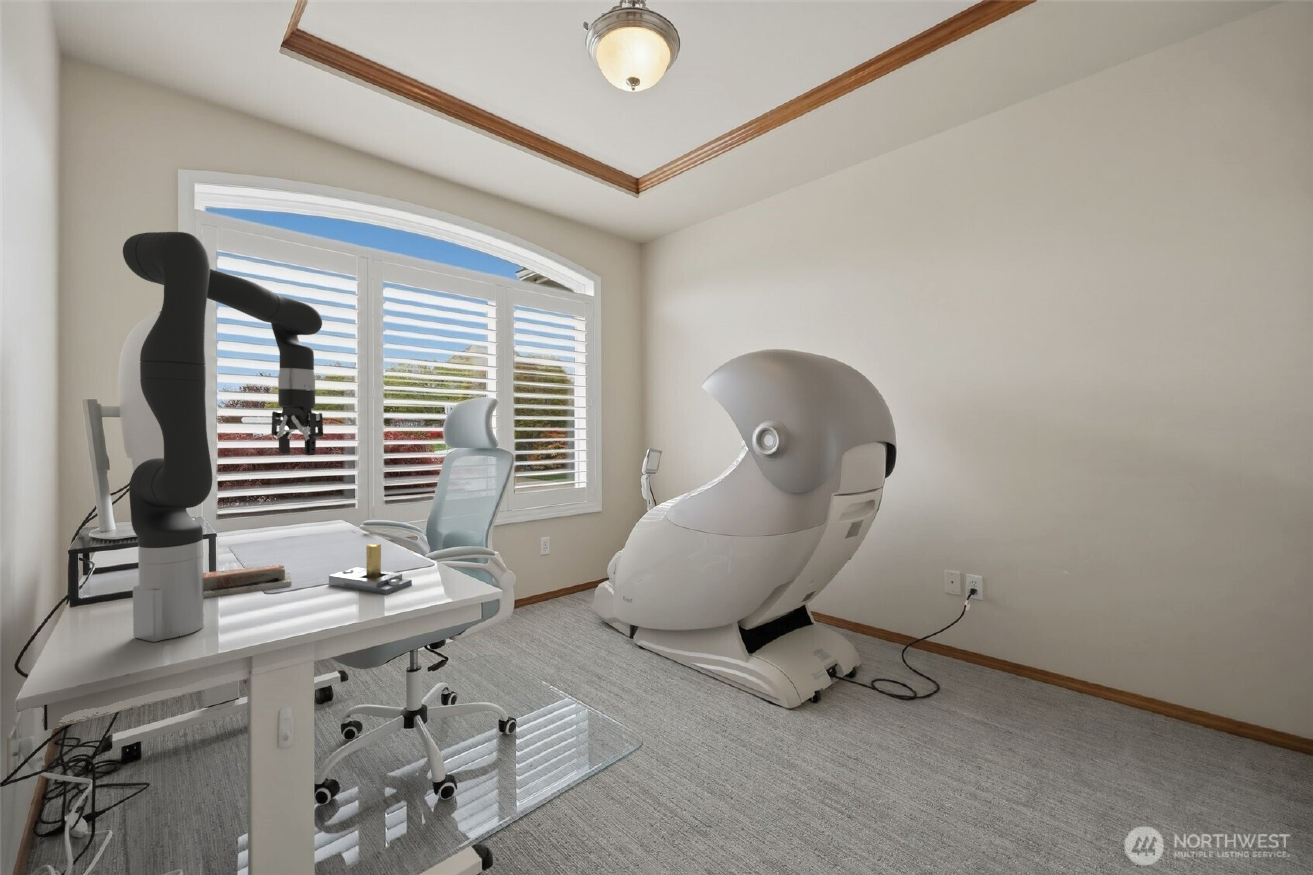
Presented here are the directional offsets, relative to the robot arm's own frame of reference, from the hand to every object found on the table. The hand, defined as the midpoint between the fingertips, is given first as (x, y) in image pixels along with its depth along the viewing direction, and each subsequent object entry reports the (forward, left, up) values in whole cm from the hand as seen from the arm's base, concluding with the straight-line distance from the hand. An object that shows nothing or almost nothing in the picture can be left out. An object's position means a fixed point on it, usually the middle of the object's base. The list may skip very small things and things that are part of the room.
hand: (297, 454), depth 134 cm
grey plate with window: (+6, -18, -32) cm, 37 cm away
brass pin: (+6, -18, -32) cm, 37 cm away
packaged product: (-6, +9, -33) cm, 35 cm away
